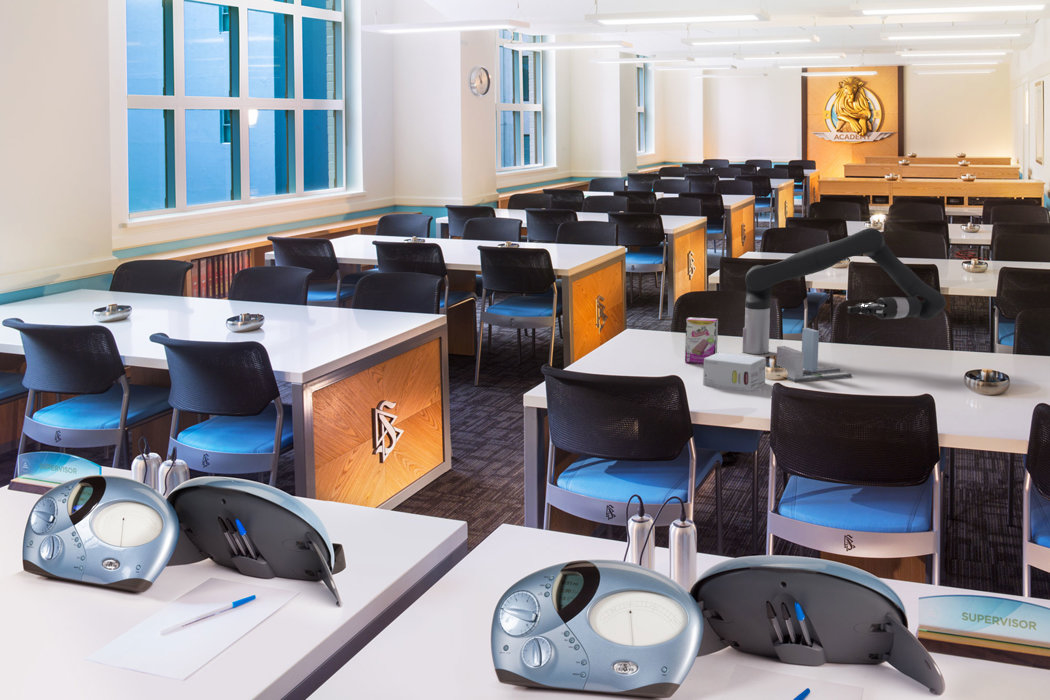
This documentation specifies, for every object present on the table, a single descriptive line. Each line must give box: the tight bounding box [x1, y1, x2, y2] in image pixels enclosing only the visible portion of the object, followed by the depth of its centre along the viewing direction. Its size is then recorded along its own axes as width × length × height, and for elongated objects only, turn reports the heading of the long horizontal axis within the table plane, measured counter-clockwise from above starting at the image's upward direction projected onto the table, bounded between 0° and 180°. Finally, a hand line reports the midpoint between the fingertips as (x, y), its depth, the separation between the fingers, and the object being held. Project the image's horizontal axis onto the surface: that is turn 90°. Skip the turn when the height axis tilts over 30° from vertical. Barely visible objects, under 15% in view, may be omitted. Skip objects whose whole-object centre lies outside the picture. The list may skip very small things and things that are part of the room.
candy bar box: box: [684, 316, 719, 365], centre depth 373 cm, size 11×5×16 cm, turn 71°
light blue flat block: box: [801, 327, 821, 375], centre depth 348 cm, size 2×10×14 cm, turn 17°
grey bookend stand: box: [776, 345, 853, 383], centre depth 350 cm, size 22×12×10 cm, turn 107°
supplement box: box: [702, 351, 767, 392], centre depth 340 cm, size 17×13×9 cm
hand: (848, 310), depth 351 cm, fingers closed
